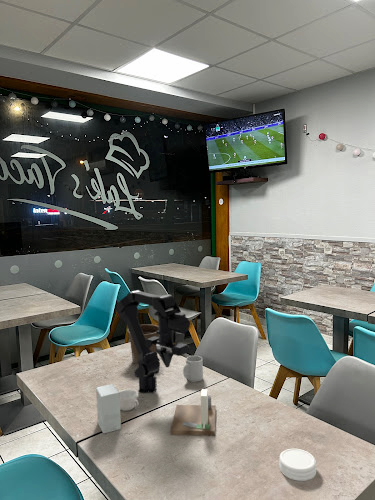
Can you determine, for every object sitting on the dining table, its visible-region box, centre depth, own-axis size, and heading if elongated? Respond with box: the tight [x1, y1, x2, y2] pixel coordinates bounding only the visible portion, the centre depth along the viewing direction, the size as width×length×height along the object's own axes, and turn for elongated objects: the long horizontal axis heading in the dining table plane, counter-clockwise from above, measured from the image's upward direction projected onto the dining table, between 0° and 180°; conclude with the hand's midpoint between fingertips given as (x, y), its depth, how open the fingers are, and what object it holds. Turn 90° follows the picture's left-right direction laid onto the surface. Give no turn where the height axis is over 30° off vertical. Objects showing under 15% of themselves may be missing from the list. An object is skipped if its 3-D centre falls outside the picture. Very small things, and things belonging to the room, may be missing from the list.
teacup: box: [118, 389, 140, 412], centre depth 146 cm, size 10×8×5 cm
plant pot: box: [126, 324, 159, 365], centre depth 192 cm, size 16×16×16 cm
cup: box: [182, 355, 204, 383], centre depth 170 cm, size 7×10×9 cm
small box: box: [95, 383, 122, 434], centre depth 134 cm, size 8×6×13 cm
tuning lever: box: [200, 388, 212, 429], centre depth 135 cm, size 16×4×10 cm, turn 174°
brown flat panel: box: [170, 404, 217, 437], centre depth 136 cm, size 14×17×2 cm
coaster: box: [278, 448, 317, 482], centre depth 110 cm, size 10×10×4 cm
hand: (167, 366), depth 152 cm, fingers closed
